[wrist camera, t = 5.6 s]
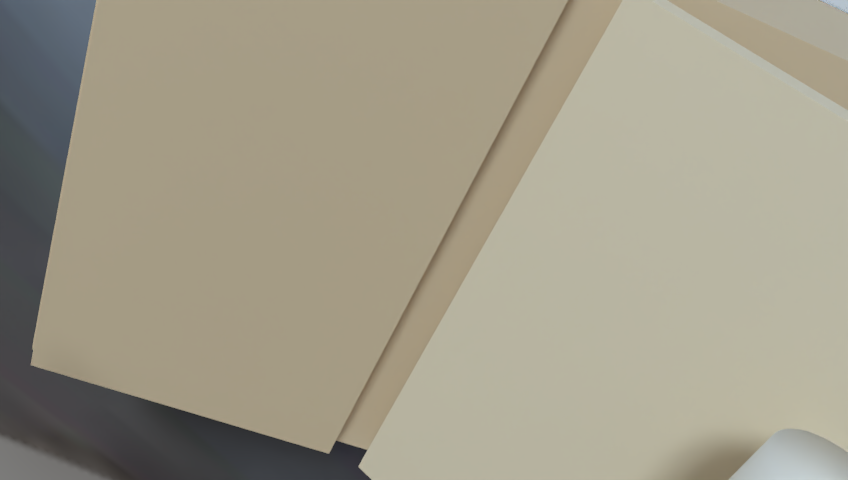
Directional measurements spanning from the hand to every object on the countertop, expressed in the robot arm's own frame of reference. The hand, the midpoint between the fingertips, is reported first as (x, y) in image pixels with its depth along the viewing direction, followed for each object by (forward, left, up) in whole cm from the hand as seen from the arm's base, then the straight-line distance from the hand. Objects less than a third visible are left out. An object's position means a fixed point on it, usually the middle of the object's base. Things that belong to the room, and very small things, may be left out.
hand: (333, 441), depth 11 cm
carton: (-2, 0, -10) cm, 11 cm away
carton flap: (-5, 0, -3) cm, 6 cm away
